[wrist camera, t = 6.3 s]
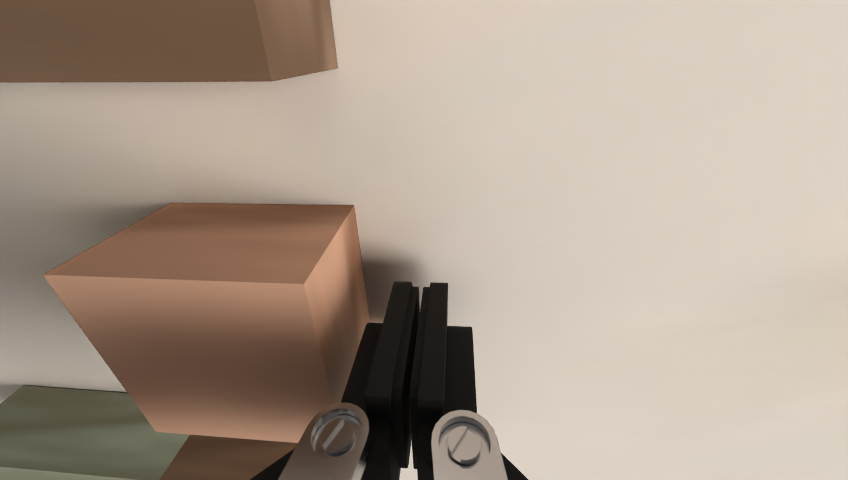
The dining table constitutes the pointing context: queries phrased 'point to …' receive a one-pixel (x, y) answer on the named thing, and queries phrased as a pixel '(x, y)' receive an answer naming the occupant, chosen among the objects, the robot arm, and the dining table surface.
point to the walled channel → (143, 62)
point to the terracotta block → (225, 314)
